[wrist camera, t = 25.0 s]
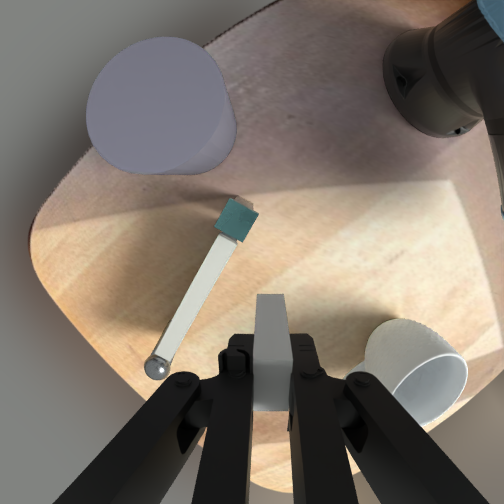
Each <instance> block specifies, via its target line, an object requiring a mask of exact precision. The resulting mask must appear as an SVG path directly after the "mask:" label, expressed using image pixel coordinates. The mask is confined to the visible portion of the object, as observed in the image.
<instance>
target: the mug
mask: <svg viewBox="0 0 504 504" xmlns="http://www.w3.org/2000/svg"><path fill="white" fill-rule="evenodd" d="M357 371H363V372H368V373H371V374H373V375H374V376H375V377H377V378H378V380H379V381H380V382H381V383H382V384H383V385H384V386H385V387H386V388H387V389H388V391H389V392H390V393H391V394H392V395H393V396H394V397H395V398H396V399H397V401H398V402H399V403H400V404H401V405H402V406H403V407H404V408H405V409H406V411H407V412H408V413H409V414H410V415H411V416H412V417H413V418H414V419H415V421H416V422H417V423H418V424H419V425H420V426H421V427H422V426H425V425H427V424H429V423H431V422H432V421H434V420H436V419H437V418H439V417H440V416H441V415H443V414H444V413H445V412H446V411H447V410H448V409H449V408H450V407H451V406H452V405H453V404H454V403H455V402H456V400H457V399H458V398H459V396H460V395H461V393H462V391H463V389H464V387H465V384H466V381H467V376H468V368H467V364H466V361H465V360H464V358H463V357H462V356H461V355H460V354H459V353H458V352H457V351H456V350H455V349H454V348H453V347H452V346H451V345H450V344H449V343H448V342H447V341H446V340H444V339H443V337H441V336H440V335H439V334H438V333H437V332H435V331H433V330H432V329H431V328H429V327H427V326H426V325H423V324H421V323H418V322H416V321H412V320H410V319H392V320H389V321H386V322H384V323H382V324H381V325H379V326H378V327H377V328H376V329H375V330H374V331H373V332H372V334H371V335H370V337H369V339H368V342H367V345H366V349H365V359H364V361H362V362H361V363H359V364H358V365H357V366H355V367H354V368H352V369H351V370H350V371H349V372H348V373H347V374H346V375H345V376H344V378H343V379H344V380H346V377H347V376H348V375H349V374H350V373H353V372H357Z"/></svg>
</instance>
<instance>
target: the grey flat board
mask: <svg viewBox="0 0 504 504" xmlns="http://www.w3.org/2000/svg"><path fill="white" fill-rule="evenodd" d="M236 241H237V239H235V238H233V237H232V236H230V235H228V234H226V233H224V232H223V231H222V233H219V235H218V237H217V238H216V240H215V242H214V244H213V246H212V247H211V249H210V251H209V253H208V255H207V256H206V258H205V260H204V262H203V264H202V265H201V267H200V269H199V271H198V273H197V274H196V276H195V278H194V280H193V282H192V284H191V285H190V287H189V289H188V291H187V293H186V295H185V297H184V298H183V300H182V302H181V304H180V306H179V308H178V310H177V311H176V313H175V315H174V317H173V319H172V321H171V323H170V325H169V327H168V328H167V330H166V332H165V334H164V336H163V338H162V340H161V342H160V344H159V346H158V348H157V350H156V352H155V354H156V355H158V356H160V357H162V358H164V359H166V360H168V361H169V362H170V361H171V359H172V358H173V356H174V354H175V352H176V351H177V349H178V347H179V345H180V343H181V342H182V340H183V338H184V336H185V335H186V333H187V331H188V329H189V328H190V326H191V324H192V322H193V321H194V319H195V317H196V315H197V314H198V312H199V310H200V308H201V307H202V305H203V303H204V301H205V300H206V298H207V296H208V294H209V293H210V291H211V289H212V287H213V286H214V284H215V282H216V281H217V279H218V277H219V275H220V274H221V272H222V270H223V268H224V267H225V265H226V263H227V262H228V260H229V258H230V256H231V255H232V253H233V251H234V250H235V248H236V246H237V244H238V243H237V242H236Z"/></svg>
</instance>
